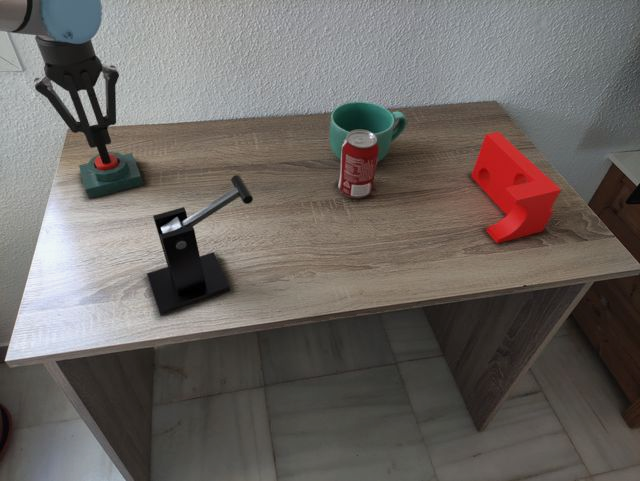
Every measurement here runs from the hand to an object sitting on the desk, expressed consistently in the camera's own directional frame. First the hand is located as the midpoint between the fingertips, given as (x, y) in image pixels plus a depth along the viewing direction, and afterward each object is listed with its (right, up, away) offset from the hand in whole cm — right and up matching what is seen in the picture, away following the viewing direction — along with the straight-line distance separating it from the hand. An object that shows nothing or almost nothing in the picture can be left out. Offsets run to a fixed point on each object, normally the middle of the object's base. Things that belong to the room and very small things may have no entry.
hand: (105, 158), depth 88 cm
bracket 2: (+73, -9, +3) cm, 74 cm away
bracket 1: (+19, -22, -13) cm, 32 cm away
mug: (+50, +3, +13) cm, 52 cm away
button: (0, -1, +1) cm, 2 cm away
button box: (0, -3, +4) cm, 5 cm away
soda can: (+47, -5, +5) cm, 48 cm away
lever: (+25, -12, -21) cm, 34 cm away
